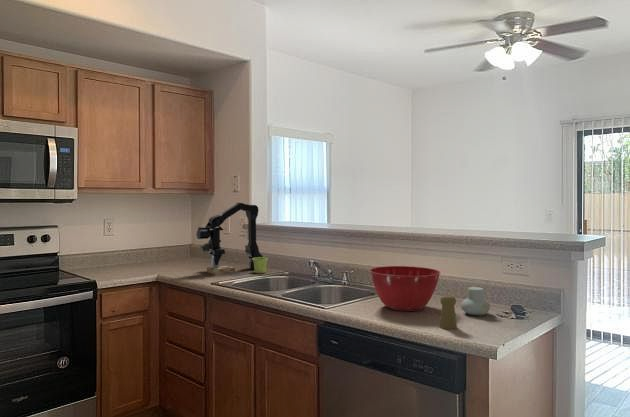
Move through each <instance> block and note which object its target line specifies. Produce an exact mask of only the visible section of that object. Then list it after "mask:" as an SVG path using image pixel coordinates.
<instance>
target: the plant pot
mask: <svg viewBox="0 0 630 417" xmlns="http://www.w3.org/2000/svg"><path fill="white" fill-rule="evenodd" d="M252 259H253V262H254V273H256V274H265V273H266V272H267V264H268V260H269V258H268V257H265V256H263V257H257V258H252Z"/></svg>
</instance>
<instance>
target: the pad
mask: <svg viewBox="0 0 630 417" xmlns="http://www.w3.org/2000/svg"><path fill="white" fill-rule="evenodd" d="M228 274H229V275H231V276H239V275H248V273H247V272H244V271H235V272H232V273H228Z"/></svg>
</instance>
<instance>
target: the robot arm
mask: <svg viewBox="0 0 630 417" xmlns="http://www.w3.org/2000/svg"><path fill="white" fill-rule="evenodd" d="M239 211H243V212H245V215H246V217H247V223H248V224H247V225H248V227H247V228H248V229H247V230H248V231H247V234H248V243H247V244H246V245H245V246H244V248H245V251H244V252H245V253H246V256H248V259H249V262H248V269H249V270H253V271H255V269H254V262H253V259H252V258H257V257H264V256H263V255H262V254H261V252H260V249H259V245H258V243H257V218H258V216H259V211H260V210H259V207H258V205H256V204H248V203H243V202H236V204H234V205H232V206H230V207H229V208H228V209H226V210H225V211H223V212H221V213H218V214H216V215H213V216H211V217H210V218H208V222H207V224H206V225H205V226H204V227H199V226H198V227H197V230H196V238H197V239H198V240H208V242H207V243H204V244H202V245H199V248H200V250H201V252H203V253H205V252H206V253H207V254H208V255H210V258H211V257H212V255H213V256H214V261H215V265H218V262H219V263H220V259H221V258H222V255H225V254H226V250H225V249H224V248H222V247H221V242H222V240H221V231H224V228H223V227H222V226H221V225H223V224H224V222H225V221H226V220H227V219H229V218H231V216H233V215H235V214H236V213H237V212H239Z"/></svg>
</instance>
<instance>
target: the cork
mask: <svg viewBox="0 0 630 417" xmlns="http://www.w3.org/2000/svg"><path fill="white" fill-rule="evenodd" d="M456 303H457V298H456V296H453V295H447V294H446V295H441V297H440V304H441V311H440V318H439V326H438V327H439V328H441V329H442V330H443V329H444V330H456V329H458V325H457V324H458V323H457V317H456V310H455V305H456Z"/></svg>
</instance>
